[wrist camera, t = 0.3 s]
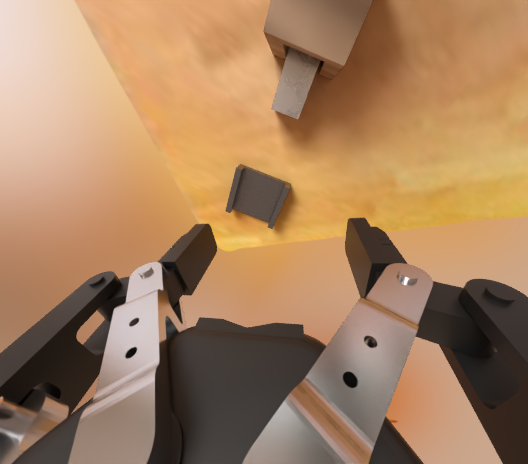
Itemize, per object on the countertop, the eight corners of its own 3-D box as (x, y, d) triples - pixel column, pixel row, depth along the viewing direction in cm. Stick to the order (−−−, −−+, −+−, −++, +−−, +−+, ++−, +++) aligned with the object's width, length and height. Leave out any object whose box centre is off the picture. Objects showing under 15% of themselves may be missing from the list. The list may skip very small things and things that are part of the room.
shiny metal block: (304, 11, 24) (306, -11, 20) (333, 24, 24) (341, 4, 20) (274, 109, 30) (271, 108, 26) (298, 119, 30) (298, 119, 26)
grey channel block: (240, 164, 35) (236, 167, 32) (290, 183, 35) (289, 188, 33) (230, 205, 40) (225, 211, 37) (273, 221, 40) (272, 229, 38)
